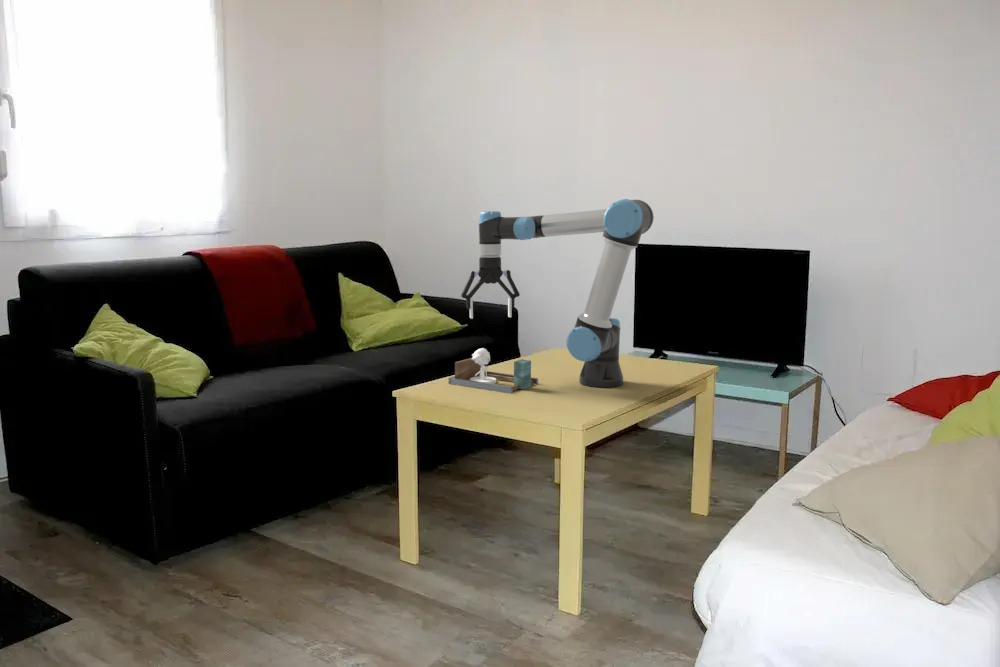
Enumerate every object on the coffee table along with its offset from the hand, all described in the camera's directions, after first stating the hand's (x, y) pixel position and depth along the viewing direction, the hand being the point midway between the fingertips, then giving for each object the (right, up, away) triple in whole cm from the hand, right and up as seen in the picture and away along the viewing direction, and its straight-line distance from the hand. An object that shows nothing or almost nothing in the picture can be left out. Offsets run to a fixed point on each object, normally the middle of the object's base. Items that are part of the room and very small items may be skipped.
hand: (490, 317), depth 301 cm
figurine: (-3, -23, -1) cm, 23 cm away
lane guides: (+1, -23, -3) cm, 23 cm away
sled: (+2, -23, -4) cm, 23 cm away
